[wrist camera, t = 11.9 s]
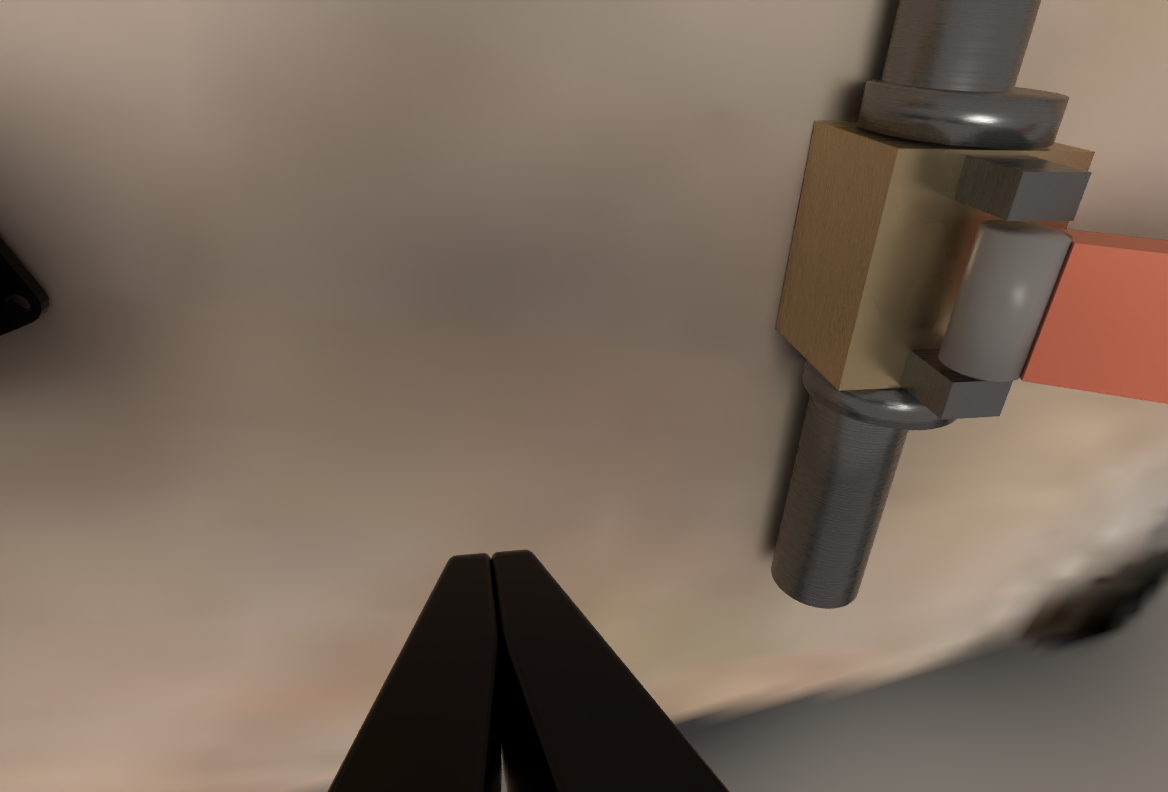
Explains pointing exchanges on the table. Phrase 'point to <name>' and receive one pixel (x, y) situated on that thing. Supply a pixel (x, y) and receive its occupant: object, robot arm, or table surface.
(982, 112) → the pipe valve
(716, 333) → the table surface
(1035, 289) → the lever
